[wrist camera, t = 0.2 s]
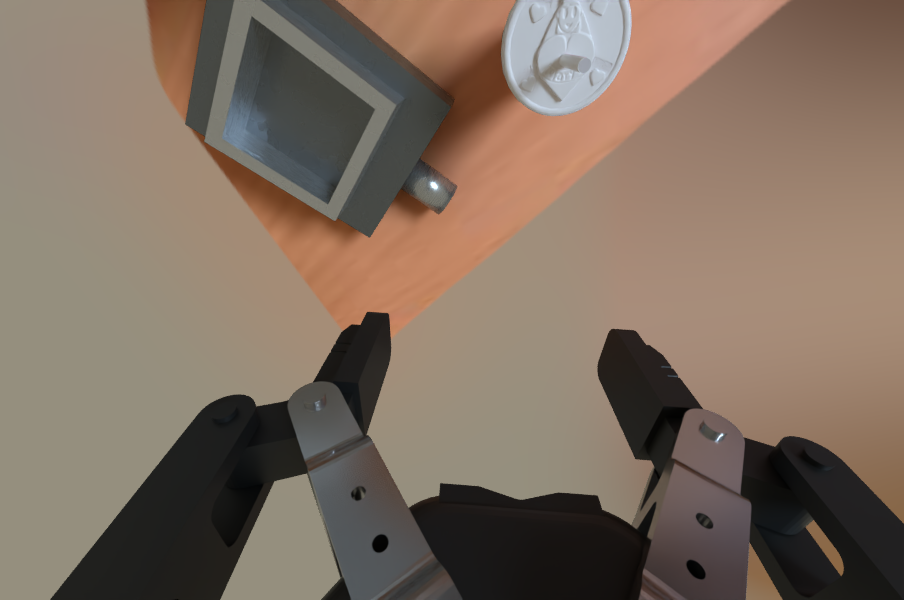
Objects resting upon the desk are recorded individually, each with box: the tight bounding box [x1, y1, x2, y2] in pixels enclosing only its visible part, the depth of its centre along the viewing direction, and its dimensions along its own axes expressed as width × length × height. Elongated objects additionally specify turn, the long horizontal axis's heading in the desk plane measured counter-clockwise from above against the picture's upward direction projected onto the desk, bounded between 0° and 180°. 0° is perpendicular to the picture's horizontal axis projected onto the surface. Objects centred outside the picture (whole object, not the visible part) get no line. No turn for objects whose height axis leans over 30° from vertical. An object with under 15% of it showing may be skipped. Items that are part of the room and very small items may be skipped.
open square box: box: [185, 0, 457, 238], centre depth 26 cm, size 13×20×7 cm, turn 55°
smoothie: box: [501, 0, 631, 116], centre depth 19 cm, size 6×6×14 cm
